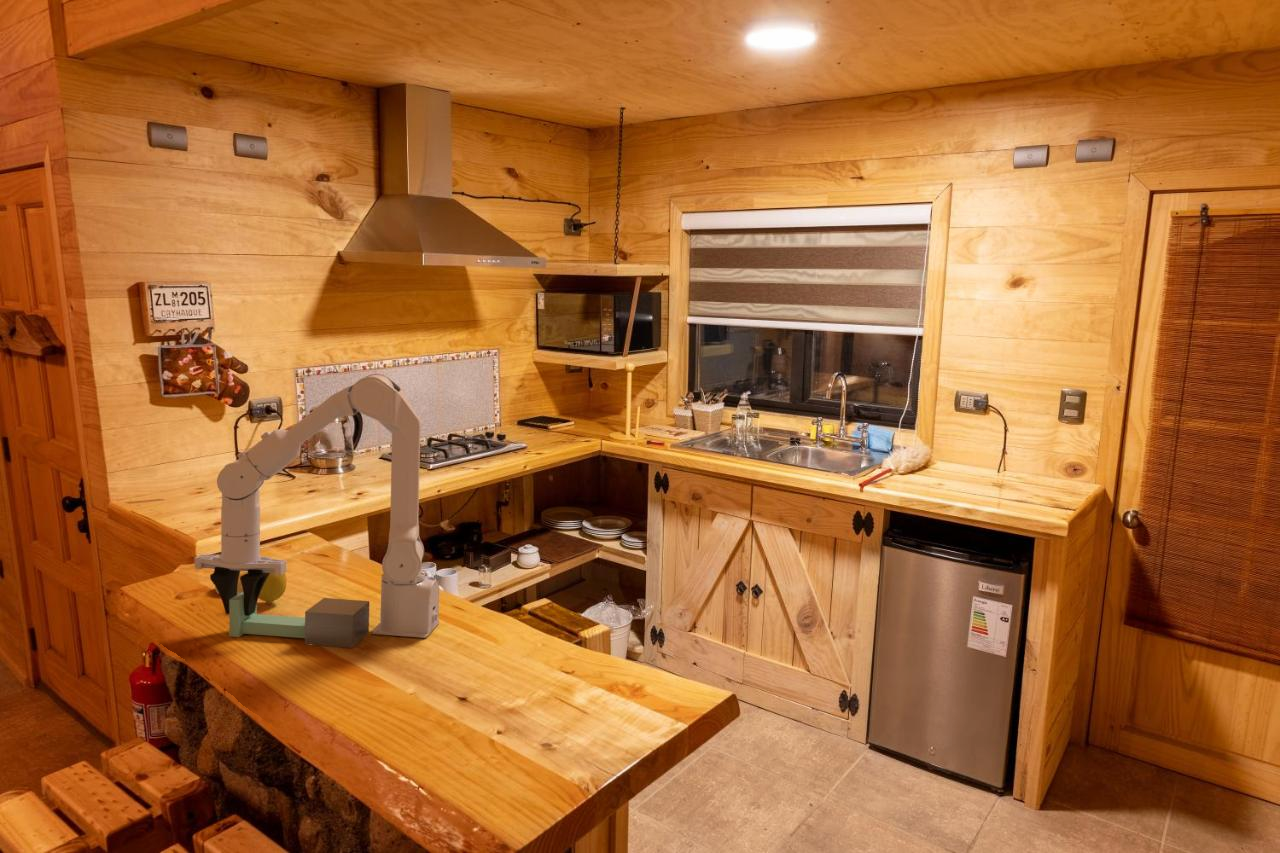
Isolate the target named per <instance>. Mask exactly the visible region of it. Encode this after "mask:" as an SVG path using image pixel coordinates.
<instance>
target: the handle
mask: <svg viewBox="0 0 1280 853" xmlns="http://www.w3.org/2000/svg"><path fill="white" fill-rule="evenodd" d="M228 615H229V618H228V619H229V621H228V624H229V626H228V627H229V628H228V629H229V630H228V631H229V633H228V634H229V636H228V637H234V638H240V637H241V636H242V635H246V634H248V635H258V636H259V635H260V636H270V637H271V636H272V637H286V638H296V639H297V638H299V639H305V617H303V616H302V617H301V616H290V615H289V616H288V615H287V616H286V615H274V614H260V613H258V603H257V604H256V608H255V612H254V613H252V614H251V615H249V616H246V615H245V613H244V593H243V592H242V593H240V594H238V595H237V596H235V597H233V598H231V599H230V600H229V614H228Z"/></svg>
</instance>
